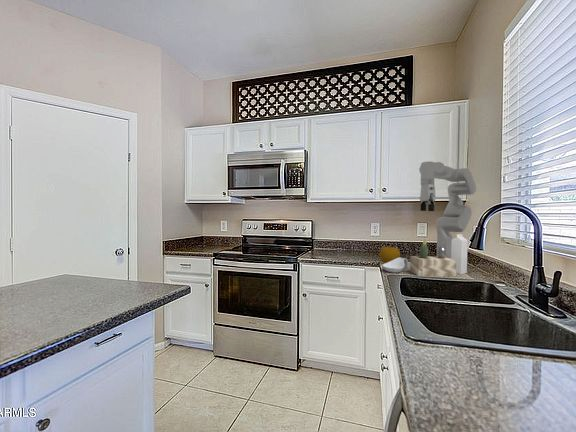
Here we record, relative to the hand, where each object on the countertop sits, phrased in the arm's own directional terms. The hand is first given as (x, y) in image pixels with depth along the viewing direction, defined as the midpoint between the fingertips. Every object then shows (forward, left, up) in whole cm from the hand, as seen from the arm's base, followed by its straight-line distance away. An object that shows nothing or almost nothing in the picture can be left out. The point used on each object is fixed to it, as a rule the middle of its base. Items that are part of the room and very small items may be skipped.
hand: (427, 210), depth 182 cm
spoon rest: (+20, +7, -36) cm, 41 cm away
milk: (-14, +11, -35) cm, 39 cm away
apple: (+17, -14, -35) cm, 42 cm away
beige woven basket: (+4, +17, -35) cm, 39 cm away
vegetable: (+9, +16, -35) cm, 40 cm away
